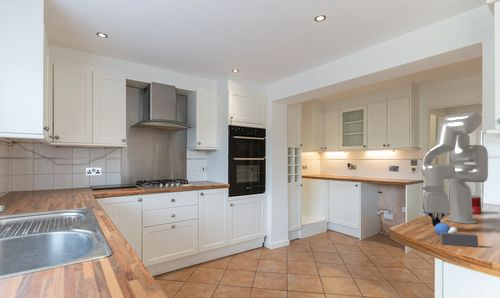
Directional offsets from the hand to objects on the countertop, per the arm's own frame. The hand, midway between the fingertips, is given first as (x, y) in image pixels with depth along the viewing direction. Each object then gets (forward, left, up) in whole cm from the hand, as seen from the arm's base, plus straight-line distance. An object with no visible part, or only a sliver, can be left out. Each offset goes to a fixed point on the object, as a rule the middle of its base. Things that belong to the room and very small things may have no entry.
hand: (436, 226), depth 125 cm
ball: (+9, +6, +2) cm, 12 cm away
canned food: (-60, -4, -2) cm, 60 cm away
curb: (+18, +15, -2) cm, 23 cm away
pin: (+11, +10, 0) cm, 15 cm away
